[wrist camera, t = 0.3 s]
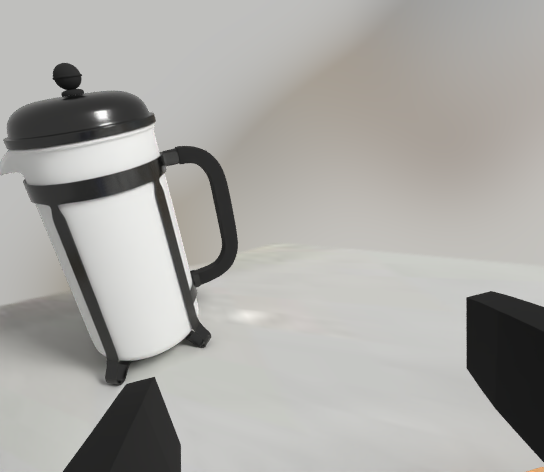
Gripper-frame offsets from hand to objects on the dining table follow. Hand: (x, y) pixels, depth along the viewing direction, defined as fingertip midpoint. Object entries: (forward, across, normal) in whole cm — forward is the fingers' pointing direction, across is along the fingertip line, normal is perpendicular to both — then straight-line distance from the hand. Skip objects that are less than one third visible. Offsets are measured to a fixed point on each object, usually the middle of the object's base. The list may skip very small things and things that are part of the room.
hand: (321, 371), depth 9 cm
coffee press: (+34, +13, +19) cm, 41 cm away
